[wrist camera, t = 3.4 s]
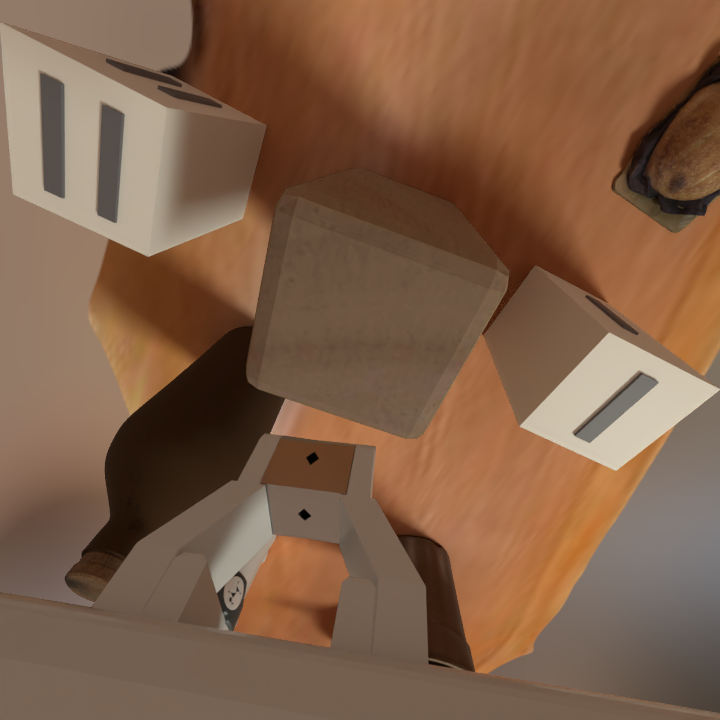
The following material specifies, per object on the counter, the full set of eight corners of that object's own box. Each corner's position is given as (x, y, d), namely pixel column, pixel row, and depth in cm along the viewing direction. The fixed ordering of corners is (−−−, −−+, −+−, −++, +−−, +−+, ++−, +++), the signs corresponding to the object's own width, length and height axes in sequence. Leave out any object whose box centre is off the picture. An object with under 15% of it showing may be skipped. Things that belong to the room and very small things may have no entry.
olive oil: (276, 309, 38) (100, 519, 16) (315, 389, 42) (217, 634, 21) (195, 334, 40) (-48, 540, 19) (239, 407, 45) (85, 638, 24)
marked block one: (549, 367, 37) (617, 472, 25) (483, 335, 36) (520, 428, 24) (609, 301, 33) (725, 388, 21) (536, 263, 32) (613, 331, 20)
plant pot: (455, 521, 51) (472, 658, 37) (472, 584, 58) (491, 718, 45) (348, 529, 55) (327, 656, 41) (376, 587, 62) (366, 711, 49)
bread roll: (672, 237, 30) (703, 248, 27) (598, 182, 29) (621, 186, 26) (813, 103, 25) (870, 97, 22) (729, 28, 24) (779, 9, 21)
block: (351, 162, 30) (271, 179, 13) (461, 205, 30) (527, 274, 13) (321, 273, 35) (235, 390, 18) (416, 307, 36) (421, 452, 18)
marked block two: (242, 218, 33) (146, 257, 21) (160, 178, 32) (9, 194, 20) (267, 122, 29) (165, 102, 17) (173, 73, 28) (-6, 14, 16)
